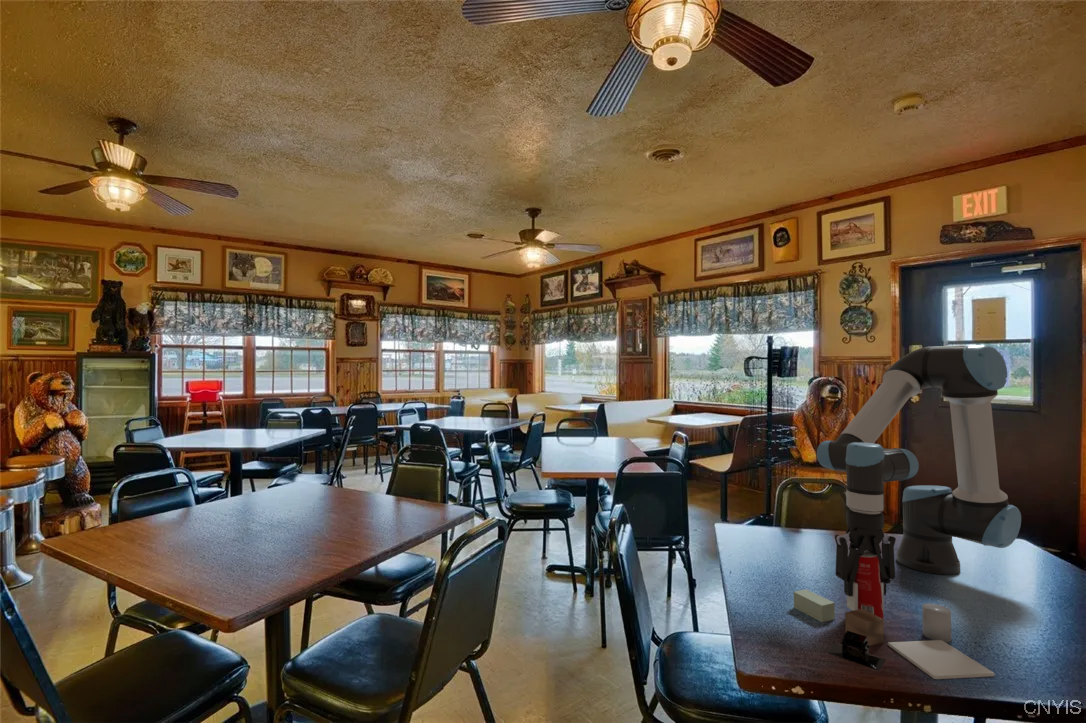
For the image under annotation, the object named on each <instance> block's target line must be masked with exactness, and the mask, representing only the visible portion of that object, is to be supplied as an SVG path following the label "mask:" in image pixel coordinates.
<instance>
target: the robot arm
mask: <svg viewBox="0 0 1086 723" xmlns="http://www.w3.org/2000/svg"><path fill="white" fill-rule="evenodd" d="M1007 378H1008V368H1007V365H1006V362H1005V359H1004V357H1003V356H1002V353H1001V352H1000V351H998V350H997V349H996V348H995V347H993V346H990V345H988V344H987V345H984V344H982V345H981V344H959V345H958V344H957V345H942V346H940V345H939V346H936V345H934V346H932V345H930V346H923V347H919V348H918V349H915V350H912V351H911V352H909V353H907V354H905V355H903V356H902V357H901V358H900V359H898V360H896V361H895V362H894V363H893V364H891V366H890V367H889V368H888V369H887V371H885V373H884V374H883V376H882V383H881V384H880V385H879V386H878V388H876V390H875V391H874V393H873V394H872V395H871V396H870V397H869V398H868V400H867V401H866V402H865V404H864V405H862V407H861V408H860V410H859V411H858V412H857V414H855V416H854V417H853V419H852V420H851V421H850V422H849V423H848V425H847V426H846V427H845V428H844V430H843V431H842V432H841V433H840V434H839V436H838V437H837V438H836V439H835V440H823V441H822V442H820V444H819V445H818V446H817V450H816V459H817V461H818V463H819V464H820V465H821V466H822V467H823V468H826V469H829V470H832V471H837V472H838V471H839V472H844V473H846V474H845V475H846V489H845V490H846V493H845V494H846V496H845V498H846V506H847V507H848V508H847V509H846V510H845V513H846V515H845V517H846V518H845V519H846V525H847V530H846V531H845V533H844V534H840V535H839V534H835V535H834V541H835V544H836V553H835V554H836V555H835V577H837V578H839V579H841V580H842V581H843V592H844V594H845V595H846V607H847V609H849V610H851V611H855V610H858V584H857V583H856V582H854V581H855V577H856V573H857V570H858V566H859V559H860V556H862V555H863V554H864V551H866V550H868V552H870V553H872V554H875V555H877V557H878V559H879V567H880V579H881V592H882V604H883V612H884V611H885V609H884V608H885V600H884V599H885V597H884V596H886V595H887V584H890V583H891V580H895V578H896V570H895V569H896V567H895V543H896V541H897V539H896V537H895V536H893V535H891V534H888V533H885V532H884V531H883V530H884V528H885V514H884V513H883V511H884V510H885V493H884V491H885V490H884V488H885V486H884V485H885V483H890V482H898V481H899V482H901V481H905V480H909V479H911V478H914V477H915V476H916V475H917V474H918V471H919V467H920V464H919V461H918V458H917V457H916V456H915V454H914V453H913V452H911V451H910V450H908V449H906V448H897V447H893V448H884V447H883V446H882V445H881V444H879V443H875V442H876V441H877V440H878V439H879V438H880V436H881V435H882V434H883V432H884V431H885V430H886V429H887V427H888V426H889V425H890V423H891V422H892V421H893V419H895V417H896V416H897V414H898V413H899V412H900V410H902V408H903V407H904V405H906V403H907V401H909V399H910V398H911V397H915V396H917V395H918V394H919V393H920V392H921V390H924V389H929V388H934V389H941V396H942V398H943V399H945V400H946V401H947V402H948V403H949V408H950V418H951V429H952V435H953V436H952V438H953V448H954V455H955V456H954V457H955V466H956V477H957V484H958V485H957V487H956V488H954V489H953V490H952V488H951V487H948V486H945V485H943V486H942V485H931V484H930V485H929V484H928V485H922V484H921V485H911V486H910V485H909V486H906V487H905V488H904V490H903V491H902V494H903V495H902V499H901V500H902V501H901V502H902V518H903V519H902V524H903V525H902V527H903V529H902V531H903V534H902V535H903V536H902V538H901V540H900V544H899V546H898V548H897V550H896V561H897V562H898V563H899V564H900V565H903V566H905V567H907V568H910V569H913V570H916V571H919V572H924V573H929V574H934V575H935V574H936V575H956V574H959V573H960V572H961V561H960V559H959V558H958V554H957V551H956V548H955V546H954V543H953V537H954V538H957V539H960V540H965V541H969V542H973V543H976V544H980V545H983V546H984V547H985V546H987V547H988V546H989V547H994V548H998V549H1004V548H1007V547H1009V546H1011V545H1012V544H1013V543H1014V542H1015V541H1016V538H1018V535H1019V532H1020V529H1021V526H1022V525H1021V524H1022V513H1021V511H1020V509H1019V507H1017V506H1015V505H1013V504H1009V498H1008V494H1007V493H1006V492H1004V491H1003V490H1002V489H1001V488H1000V483H999V482H1000V481H999V479H1000V478H999V472H998V462H997V461H998V459H997V451H996V450H997V449H996V441H995V431H994V430H995V429H994V420H993V409H992V400H993V399H995V398H996V397H997V396H998V395H999V394H998V393H999V392H998V390H1002V389H1003V388H1004V387H1005V386H1006V385H1007V384H1006V383H1007ZM849 542H850V543H849ZM880 544H881V545H880Z"/></svg>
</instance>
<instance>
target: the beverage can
mask: <svg viewBox="0 0 1086 723" xmlns="http://www.w3.org/2000/svg"><path fill="white" fill-rule="evenodd" d="M854 582H856V583H857V584H858V610H860V609H864V610H866V611H868V612H870V613H872V614H874V615H876V616H878V617H880V618H882V619H884V611H883V604H882V592H881V579H880V567H879V559H878V557H877V555H875V554H872V553H870V552H868V550H866V551H864V554H863V555H862V556H860V559H859V566H858V570H857V573H856V577H855V581H854Z"/></svg>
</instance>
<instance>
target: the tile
mask: <svg viewBox="0 0 1086 723" xmlns="http://www.w3.org/2000/svg"><path fill="white" fill-rule="evenodd" d="M887 646H889V648H891V649H893V650H894V651H895V652H896V653H897V654H899V655H901V656H902V657H903V658H904V659H906V660H907V661H908V662H910V663H912V664H913V665H915V666H916V668H918V669H920V670H921V671H923V672H924V673H925V674H927V675H928V676H929V677H931V678H932V679H934V680H943V679H944V680H946V679H947V680H949V679H964V678H965V679H966V678H968V679H969V678H985V677H988V678H989V677H995V672H993V671H992V670H990V668H987V667H986V666H984V665H983V664H981V663H979V662H977V661H976V660H974V659H973V658H971V657H969V656H967V655H966V654H965V653H963V652H961V651H960V650H958V648H957V649H956V648H955V647H954V646H952V645H951V644H948V642H944V641H942V640H931V639H930V640H914V641H911V640H910V641H891V642H890V641H888V642H887Z"/></svg>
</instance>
